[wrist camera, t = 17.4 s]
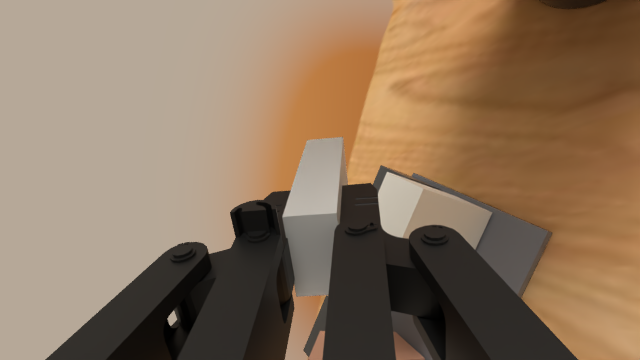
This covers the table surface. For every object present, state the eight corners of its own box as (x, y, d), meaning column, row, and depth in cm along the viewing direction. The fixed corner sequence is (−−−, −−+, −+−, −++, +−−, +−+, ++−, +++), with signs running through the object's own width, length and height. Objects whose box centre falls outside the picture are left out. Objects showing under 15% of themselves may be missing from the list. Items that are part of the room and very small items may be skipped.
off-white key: (428, 257, 50) (356, 244, 43) (455, 196, 49) (387, 171, 42) (461, 279, 46) (388, 268, 39) (492, 212, 45) (423, 188, 38)
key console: (341, 352, 59) (301, 353, 55) (418, 174, 56) (382, 161, 51) (440, 463, 44) (397, 477, 40) (552, 232, 41) (518, 221, 37)
